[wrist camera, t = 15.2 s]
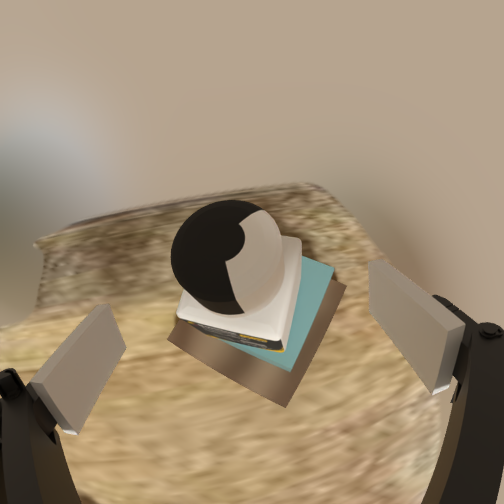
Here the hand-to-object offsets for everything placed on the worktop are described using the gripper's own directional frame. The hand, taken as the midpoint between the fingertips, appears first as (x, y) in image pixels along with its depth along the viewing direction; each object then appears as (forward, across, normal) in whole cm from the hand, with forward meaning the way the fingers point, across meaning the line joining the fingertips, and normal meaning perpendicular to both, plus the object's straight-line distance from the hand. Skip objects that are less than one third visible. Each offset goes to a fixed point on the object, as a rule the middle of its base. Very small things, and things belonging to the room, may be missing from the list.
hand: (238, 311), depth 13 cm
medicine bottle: (+11, 0, -5) cm, 12 cm away
